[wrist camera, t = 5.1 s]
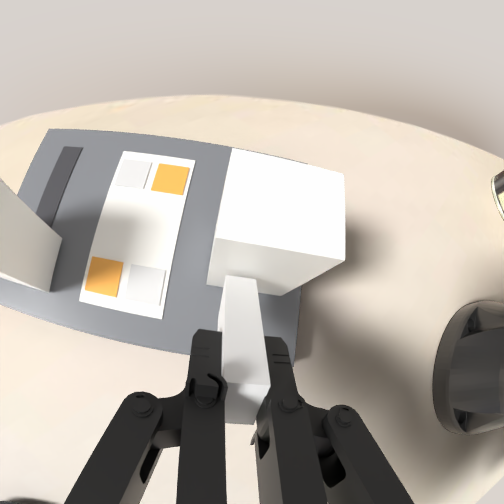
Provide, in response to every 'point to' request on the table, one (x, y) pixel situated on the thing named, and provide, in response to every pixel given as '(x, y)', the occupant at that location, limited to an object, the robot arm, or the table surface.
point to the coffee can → (498, 191)
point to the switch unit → (134, 239)
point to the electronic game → (5, 503)
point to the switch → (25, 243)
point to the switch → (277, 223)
